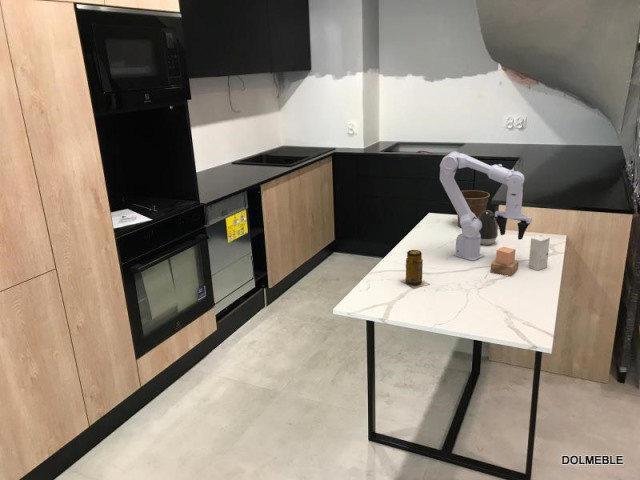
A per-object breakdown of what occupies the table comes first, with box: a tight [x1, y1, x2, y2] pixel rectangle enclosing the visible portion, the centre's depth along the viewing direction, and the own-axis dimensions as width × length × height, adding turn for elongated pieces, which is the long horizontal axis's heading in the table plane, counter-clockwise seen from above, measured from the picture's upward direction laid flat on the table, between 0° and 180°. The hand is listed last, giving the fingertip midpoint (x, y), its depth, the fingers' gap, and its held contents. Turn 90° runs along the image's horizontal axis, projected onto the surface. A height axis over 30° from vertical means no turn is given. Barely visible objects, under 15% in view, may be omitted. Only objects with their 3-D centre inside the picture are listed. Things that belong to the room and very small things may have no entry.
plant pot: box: [456, 189, 491, 228], centre depth 245 cm, size 16×16×16 cm
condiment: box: [400, 249, 430, 289], centre depth 186 cm, size 7×8×12 cm
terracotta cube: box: [495, 246, 516, 265], centre depth 192 cm, size 5×5×5 cm
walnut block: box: [489, 258, 520, 277], centre depth 194 cm, size 8×8×4 cm
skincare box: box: [528, 235, 551, 271], centre depth 194 cm, size 6×4×12 cm
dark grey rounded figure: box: [478, 209, 499, 246], centre depth 222 cm, size 10×10×15 cm
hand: (511, 236), depth 200 cm, fingers open, 7 cm apart
